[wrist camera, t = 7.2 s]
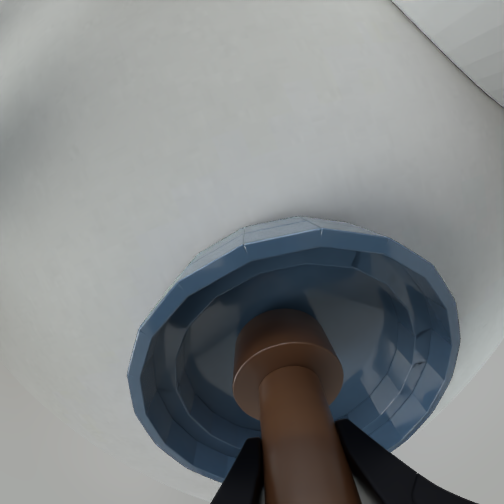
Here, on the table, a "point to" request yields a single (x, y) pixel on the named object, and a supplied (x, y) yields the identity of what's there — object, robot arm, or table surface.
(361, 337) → the bowl
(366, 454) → the robot arm
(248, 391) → the muddler
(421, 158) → the table surface
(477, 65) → the white wheel
